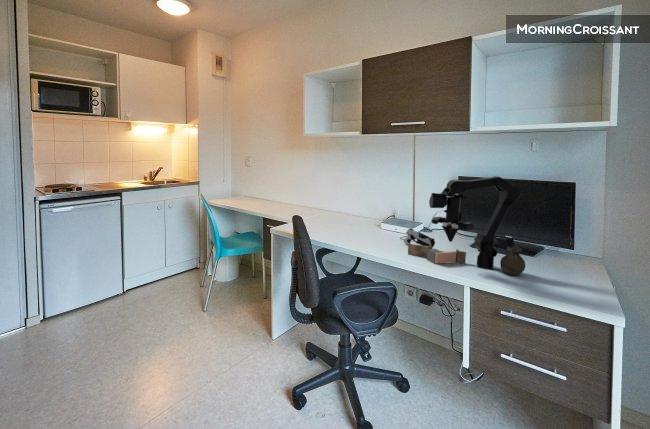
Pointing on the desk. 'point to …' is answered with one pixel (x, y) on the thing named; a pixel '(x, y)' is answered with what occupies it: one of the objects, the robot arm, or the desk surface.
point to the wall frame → (422, 250)
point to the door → (445, 257)
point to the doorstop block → (432, 255)
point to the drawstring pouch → (513, 261)
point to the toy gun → (418, 238)
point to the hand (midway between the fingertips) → (450, 241)
